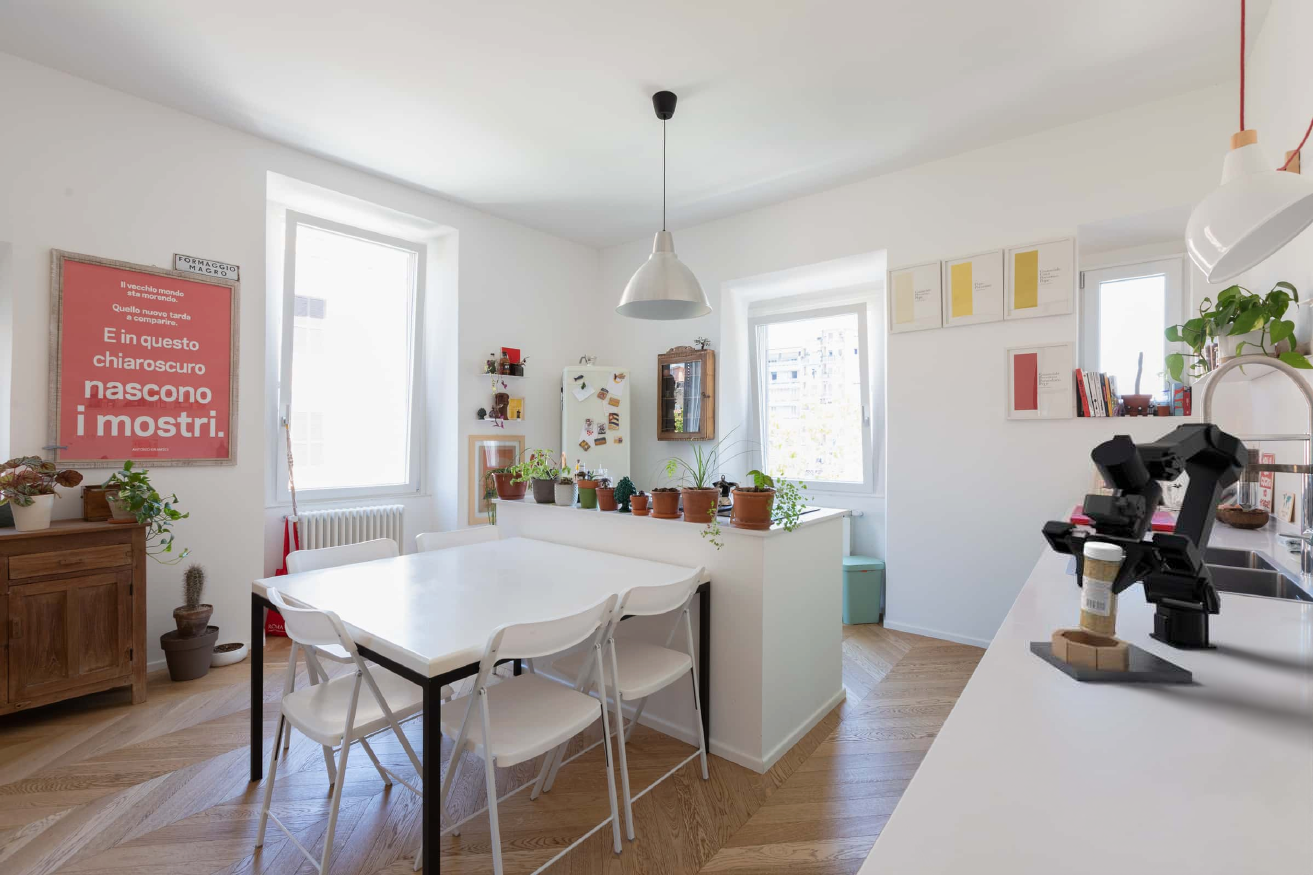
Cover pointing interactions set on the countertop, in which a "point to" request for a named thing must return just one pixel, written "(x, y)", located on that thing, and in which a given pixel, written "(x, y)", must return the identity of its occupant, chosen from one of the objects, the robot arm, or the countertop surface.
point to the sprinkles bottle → (1099, 588)
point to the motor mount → (1106, 659)
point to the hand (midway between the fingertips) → (1096, 589)
